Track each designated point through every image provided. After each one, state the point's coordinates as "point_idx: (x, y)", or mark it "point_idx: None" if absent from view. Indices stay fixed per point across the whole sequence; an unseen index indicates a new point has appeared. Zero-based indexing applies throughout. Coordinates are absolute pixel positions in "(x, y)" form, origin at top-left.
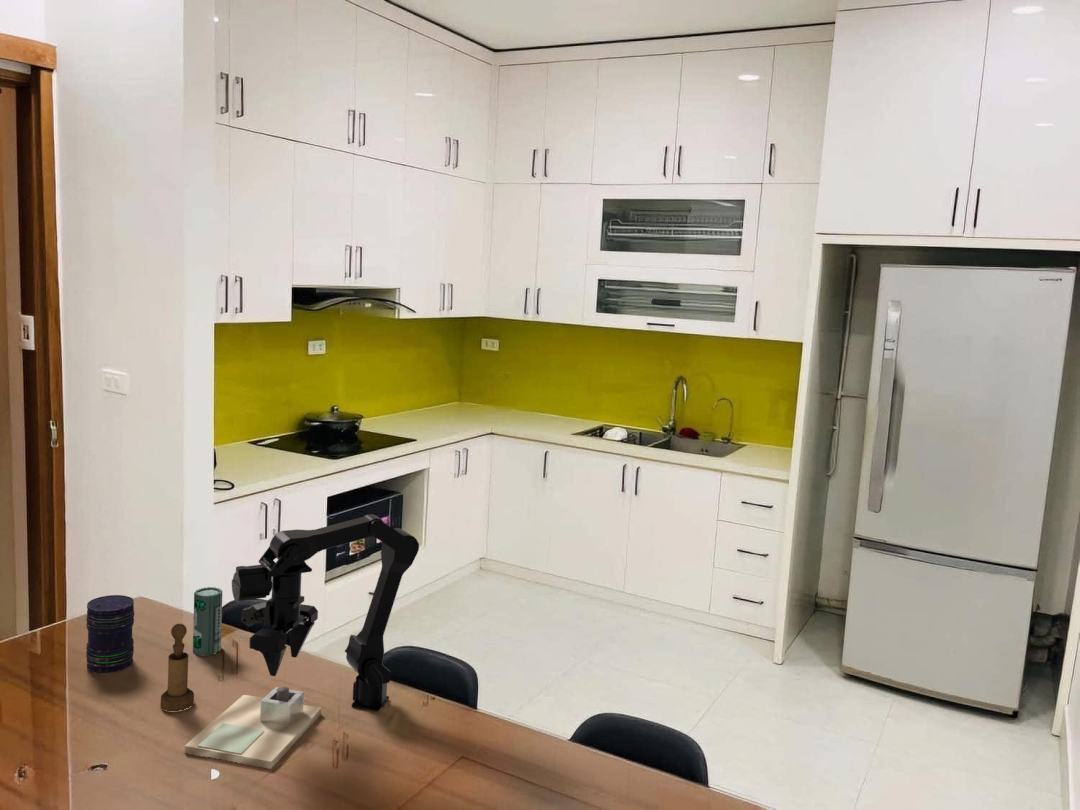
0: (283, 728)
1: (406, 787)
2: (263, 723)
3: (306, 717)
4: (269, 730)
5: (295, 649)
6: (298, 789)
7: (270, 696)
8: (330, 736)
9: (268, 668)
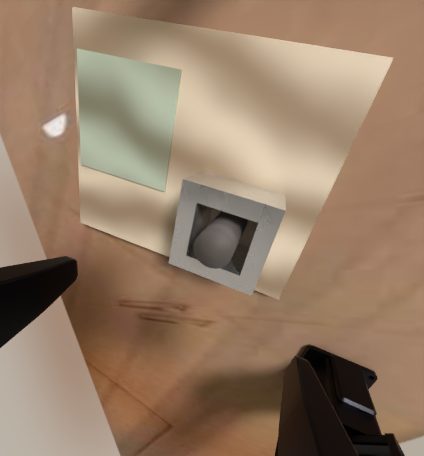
0: None
1: (104, 364)
2: None
3: None
4: (170, 201)
5: (287, 431)
6: None
7: (214, 203)
8: (196, 301)
9: (10, 269)
